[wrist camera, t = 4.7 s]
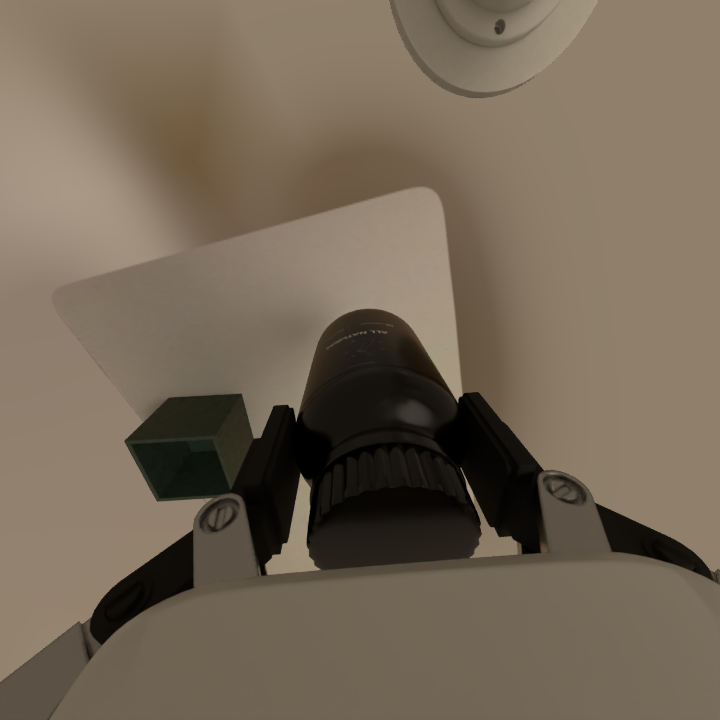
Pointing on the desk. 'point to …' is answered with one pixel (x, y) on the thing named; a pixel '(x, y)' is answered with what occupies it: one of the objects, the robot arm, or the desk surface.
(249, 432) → the open box
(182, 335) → the desk surface
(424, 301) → the desk surface
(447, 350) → the desk surface
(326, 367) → the supplement bottle
